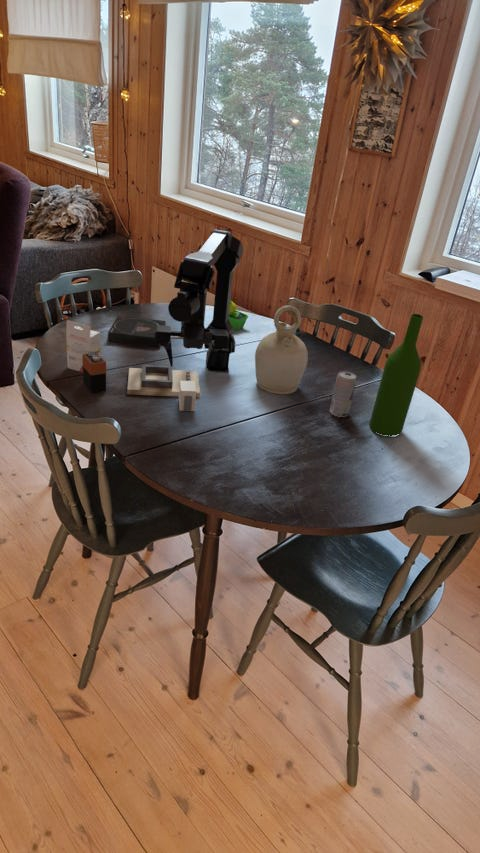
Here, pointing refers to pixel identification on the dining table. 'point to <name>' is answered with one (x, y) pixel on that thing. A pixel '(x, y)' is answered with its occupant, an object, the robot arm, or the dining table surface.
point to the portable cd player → (134, 331)
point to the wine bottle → (398, 383)
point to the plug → (187, 396)
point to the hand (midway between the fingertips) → (189, 366)
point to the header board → (159, 380)
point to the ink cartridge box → (80, 343)
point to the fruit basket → (236, 317)
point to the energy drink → (343, 394)
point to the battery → (94, 372)
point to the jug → (281, 357)
